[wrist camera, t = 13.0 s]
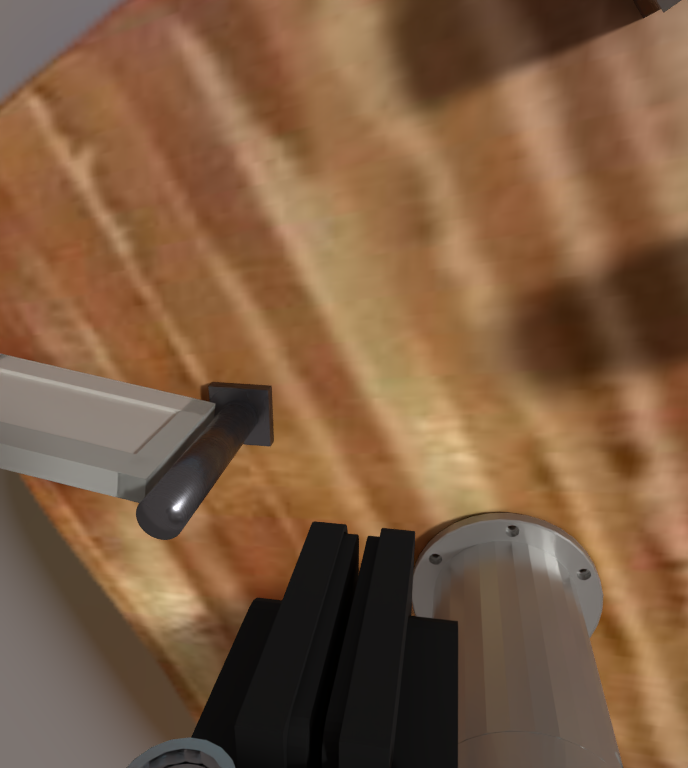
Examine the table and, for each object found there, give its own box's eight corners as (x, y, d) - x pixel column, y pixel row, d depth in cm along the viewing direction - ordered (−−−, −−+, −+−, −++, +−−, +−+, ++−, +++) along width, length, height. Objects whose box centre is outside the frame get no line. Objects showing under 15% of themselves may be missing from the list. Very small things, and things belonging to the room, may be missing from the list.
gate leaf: (215, 403, 42) (146, 479, 32) (213, 423, 42) (144, 504, 33) (-12, 350, 43) (-141, 408, 34) (-12, 371, 44) (-138, 434, 34)
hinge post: (273, 441, 43) (202, 557, 31) (216, 436, 44) (125, 549, 32) (271, 385, 42) (195, 485, 30) (212, 382, 42) (115, 478, 30)
